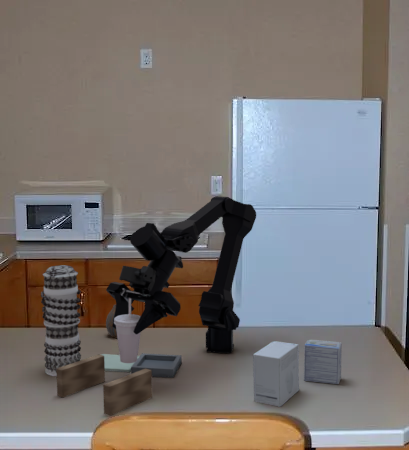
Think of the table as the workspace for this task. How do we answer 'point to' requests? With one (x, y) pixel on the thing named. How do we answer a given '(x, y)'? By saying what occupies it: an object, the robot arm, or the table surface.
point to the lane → (113, 391)
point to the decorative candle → (61, 317)
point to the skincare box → (276, 373)
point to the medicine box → (322, 361)
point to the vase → (111, 322)
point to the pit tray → (158, 364)
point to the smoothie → (127, 336)
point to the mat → (116, 363)
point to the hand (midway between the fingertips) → (124, 330)
